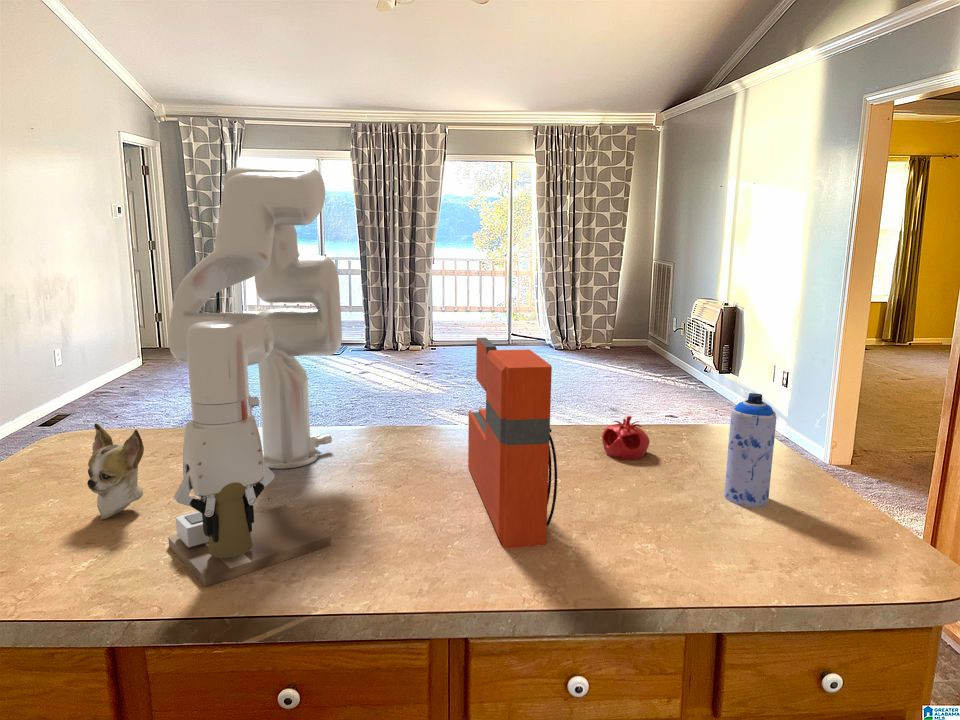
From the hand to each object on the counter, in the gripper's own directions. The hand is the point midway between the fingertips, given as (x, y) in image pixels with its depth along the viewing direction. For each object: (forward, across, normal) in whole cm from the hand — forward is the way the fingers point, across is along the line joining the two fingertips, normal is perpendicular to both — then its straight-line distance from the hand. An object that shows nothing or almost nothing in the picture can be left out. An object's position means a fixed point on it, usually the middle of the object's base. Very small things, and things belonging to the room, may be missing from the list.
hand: (229, 532), depth 95 cm
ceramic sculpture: (+5, +8, -30) cm, 31 cm away
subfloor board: (+5, -4, -4) cm, 8 cm away
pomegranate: (+5, -83, +8) cm, 83 cm away
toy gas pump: (+5, -46, +9) cm, 47 cm away
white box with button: (+3, +1, -8) cm, 8 cm away
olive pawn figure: (+2, 0, 0) cm, 2 cm away
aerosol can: (+5, -80, +37) cm, 88 cm away
